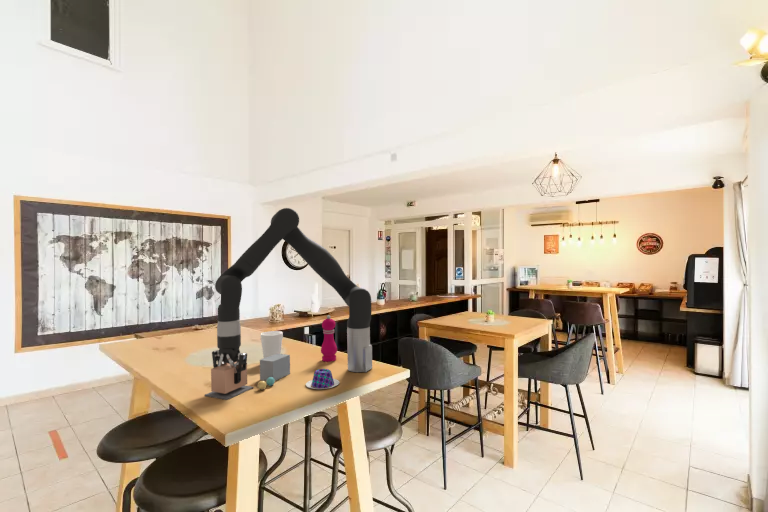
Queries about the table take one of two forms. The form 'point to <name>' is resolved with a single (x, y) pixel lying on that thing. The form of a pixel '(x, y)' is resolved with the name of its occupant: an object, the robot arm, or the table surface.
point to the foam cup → (271, 343)
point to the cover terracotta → (226, 379)
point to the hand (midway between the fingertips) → (229, 382)
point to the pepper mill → (328, 340)
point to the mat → (229, 393)
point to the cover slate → (275, 366)
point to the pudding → (322, 380)
